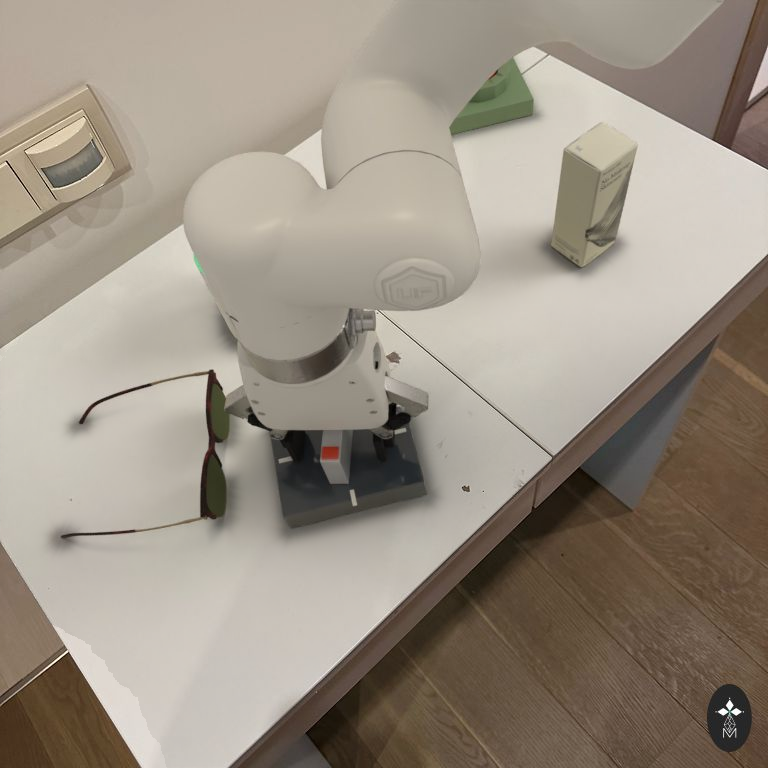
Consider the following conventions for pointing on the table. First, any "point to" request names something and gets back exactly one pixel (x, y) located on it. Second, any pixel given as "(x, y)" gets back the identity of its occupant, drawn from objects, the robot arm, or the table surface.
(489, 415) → the table surface
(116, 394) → the sunglasses
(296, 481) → the plate
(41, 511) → the table surface
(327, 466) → the long grey beam
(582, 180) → the box
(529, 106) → the button box
